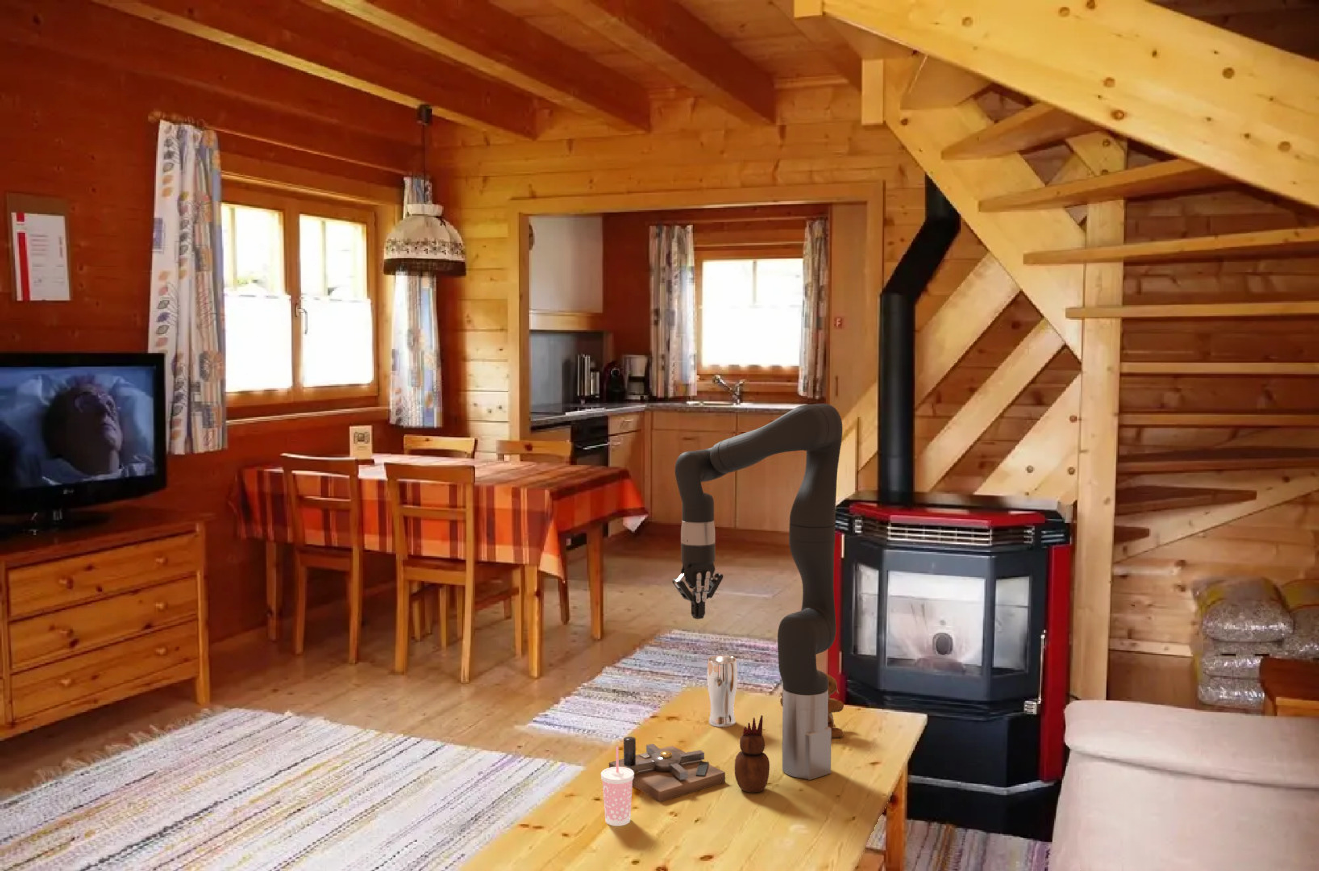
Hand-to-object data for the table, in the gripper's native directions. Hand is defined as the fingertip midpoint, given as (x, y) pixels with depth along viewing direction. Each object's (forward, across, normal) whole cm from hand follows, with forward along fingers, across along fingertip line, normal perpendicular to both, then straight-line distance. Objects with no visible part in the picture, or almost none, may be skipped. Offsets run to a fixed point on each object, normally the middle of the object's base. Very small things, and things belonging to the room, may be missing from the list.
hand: (698, 618), depth 240 cm
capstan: (+25, -19, -14) cm, 34 cm away
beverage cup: (+27, -38, -25) cm, 53 cm away
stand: (+27, -19, -14) cm, 36 cm away
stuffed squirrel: (+27, +23, -12) cm, 38 cm away
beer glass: (+27, +10, +4) cm, 29 cm away
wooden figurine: (+27, -9, -29) cm, 41 cm away
